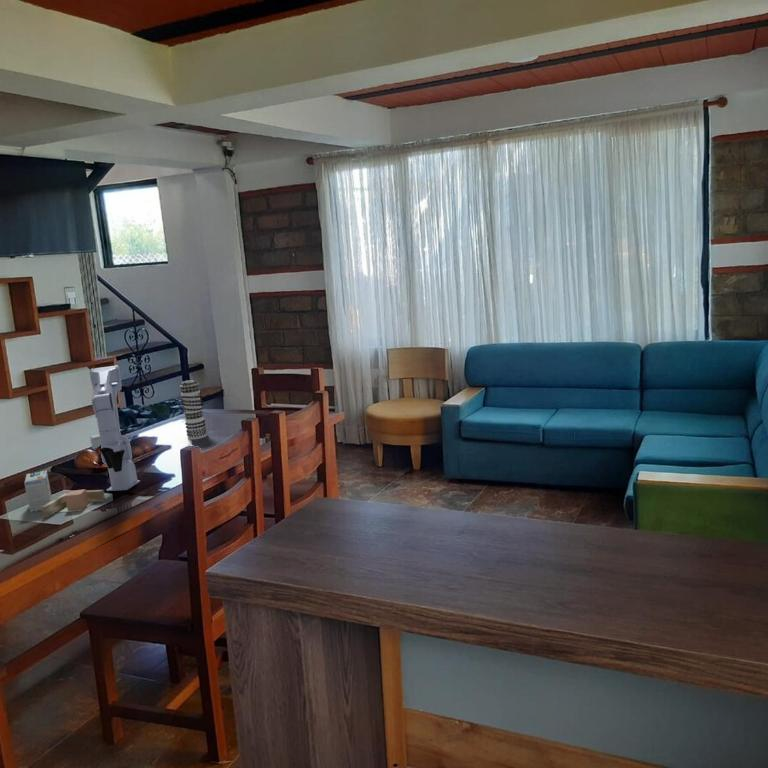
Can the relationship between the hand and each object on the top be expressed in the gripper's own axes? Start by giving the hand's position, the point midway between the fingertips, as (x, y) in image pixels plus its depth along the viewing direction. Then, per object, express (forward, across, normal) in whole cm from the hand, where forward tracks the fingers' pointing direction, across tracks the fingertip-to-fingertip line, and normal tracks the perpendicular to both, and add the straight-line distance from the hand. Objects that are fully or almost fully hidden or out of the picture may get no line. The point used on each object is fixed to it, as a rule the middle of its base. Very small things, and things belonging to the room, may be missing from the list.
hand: (115, 469), depth 248 cm
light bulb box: (+10, +17, +22) cm, 30 cm away
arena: (+10, +5, +13) cm, 17 cm away
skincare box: (+9, +53, -8) cm, 54 cm away
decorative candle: (+8, +61, -51) cm, 80 cm away
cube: (+10, +4, +13) cm, 17 cm away
